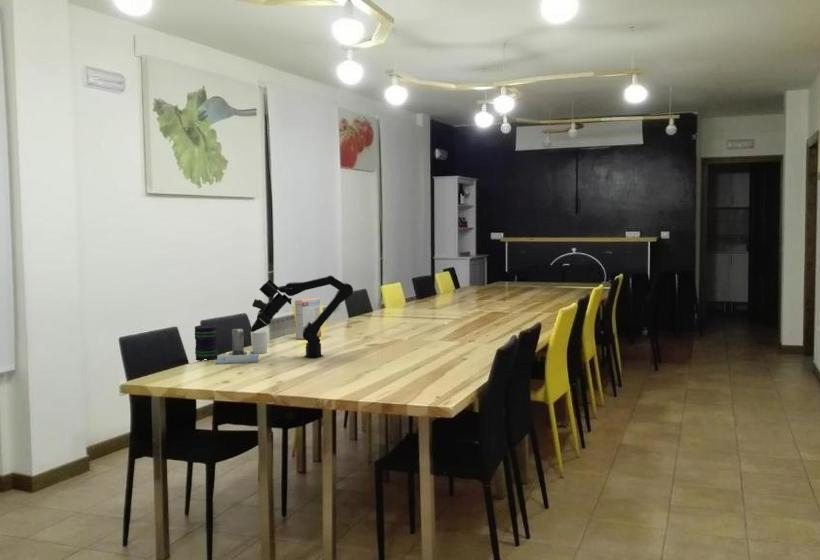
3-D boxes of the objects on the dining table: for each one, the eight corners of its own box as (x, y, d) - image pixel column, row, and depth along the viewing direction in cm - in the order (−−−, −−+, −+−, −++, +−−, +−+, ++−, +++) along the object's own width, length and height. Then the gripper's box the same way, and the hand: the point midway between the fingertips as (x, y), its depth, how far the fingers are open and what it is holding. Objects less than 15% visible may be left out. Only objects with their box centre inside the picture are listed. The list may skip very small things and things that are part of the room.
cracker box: (313, 335, 402) (312, 297, 400) (321, 336, 399) (320, 298, 397) (295, 339, 391) (294, 299, 389) (303, 340, 387) (302, 300, 386)
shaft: (245, 358, 331) (244, 329, 330) (234, 359, 328) (234, 330, 327) (241, 356, 335) (241, 328, 334) (230, 357, 332) (230, 329, 332)
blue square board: (258, 355, 342) (258, 349, 342) (257, 362, 324) (257, 356, 324) (218, 357, 339) (218, 351, 339) (215, 364, 321) (215, 358, 321)
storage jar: (205, 361, 328) (204, 328, 327) (190, 359, 333) (189, 327, 332) (222, 358, 336) (221, 325, 335) (207, 356, 342) (206, 324, 341)
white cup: (264, 354, 346) (263, 333, 345) (248, 353, 348) (247, 332, 347) (270, 351, 354) (270, 330, 353) (255, 350, 355) (254, 330, 355)
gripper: (262, 290, 341) (239, 315, 340) (262, 294, 322) (237, 320, 321) (280, 307, 343) (257, 331, 342) (280, 311, 324) (256, 337, 323)
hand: (251, 330), depth 332 cm, fingers open, 9 cm apart
